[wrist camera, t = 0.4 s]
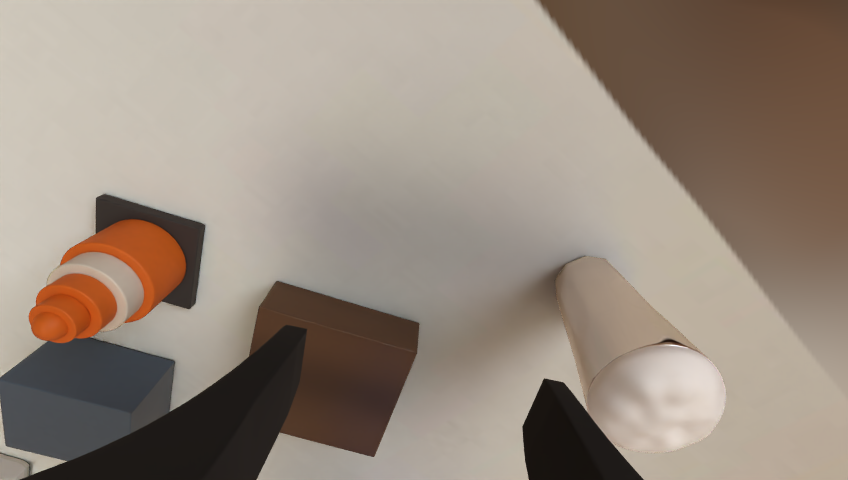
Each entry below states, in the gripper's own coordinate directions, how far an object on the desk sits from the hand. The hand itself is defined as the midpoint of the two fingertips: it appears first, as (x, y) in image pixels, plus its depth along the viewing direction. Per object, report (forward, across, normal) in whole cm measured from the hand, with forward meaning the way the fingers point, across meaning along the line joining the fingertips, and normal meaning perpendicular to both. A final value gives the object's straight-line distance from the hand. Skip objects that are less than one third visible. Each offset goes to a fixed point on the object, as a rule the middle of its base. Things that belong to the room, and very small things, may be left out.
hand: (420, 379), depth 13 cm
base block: (+10, +4, +8) cm, 13 cm away
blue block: (+10, +16, +13) cm, 23 cm away
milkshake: (+10, -8, +1) cm, 13 cm away
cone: (+10, +14, +4) cm, 17 cm away
